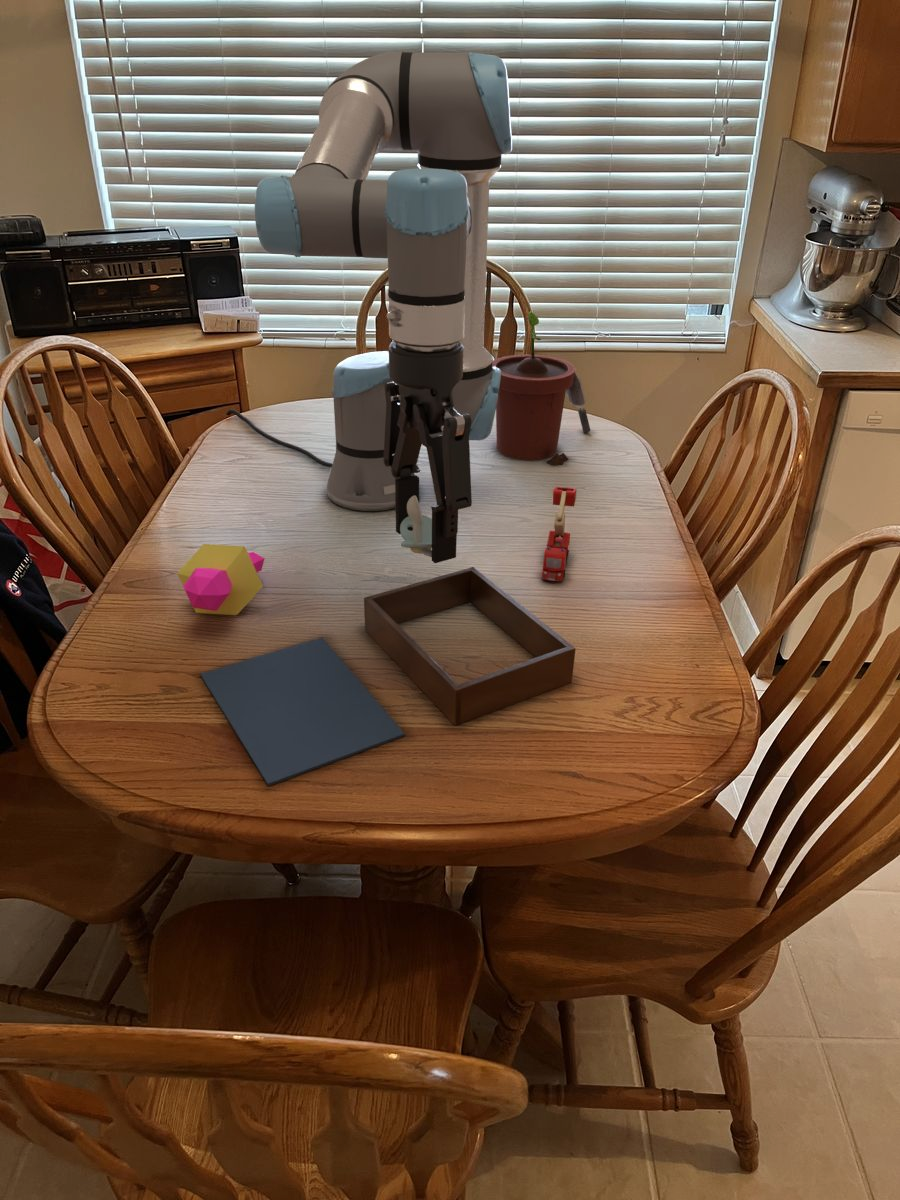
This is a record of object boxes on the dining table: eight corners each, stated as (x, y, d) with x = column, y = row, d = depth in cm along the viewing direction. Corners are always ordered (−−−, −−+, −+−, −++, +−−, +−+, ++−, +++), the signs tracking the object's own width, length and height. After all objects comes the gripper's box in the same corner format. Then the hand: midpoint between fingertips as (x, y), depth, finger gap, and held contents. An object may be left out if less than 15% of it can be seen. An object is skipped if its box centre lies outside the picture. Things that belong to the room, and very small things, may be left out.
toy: (288, 585, 128) (258, 518, 126) (252, 619, 111) (216, 542, 109) (225, 609, 130) (195, 543, 128) (180, 646, 113) (144, 571, 111)
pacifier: (450, 533, 105) (399, 532, 104) (453, 483, 102) (400, 482, 101) (455, 563, 99) (400, 562, 98) (458, 511, 95) (401, 510, 95)
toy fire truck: (540, 582, 129) (545, 521, 124) (550, 539, 140) (555, 482, 135) (563, 585, 128) (569, 524, 123) (571, 541, 140) (577, 484, 135)
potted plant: (482, 430, 180) (487, 303, 167) (589, 431, 181) (602, 304, 168) (488, 465, 165) (494, 327, 152) (605, 465, 166) (621, 328, 153)
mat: (200, 676, 108) (200, 673, 108) (322, 639, 115) (322, 637, 115) (268, 786, 92) (267, 783, 92) (404, 736, 99) (404, 733, 99)
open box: (364, 630, 117) (363, 597, 115) (471, 597, 125) (473, 566, 122) (454, 726, 101) (456, 690, 98) (572, 682, 108) (575, 648, 106)
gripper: (347, 322, 95) (354, 517, 107) (447, 374, 81) (443, 592, 93) (408, 314, 99) (409, 503, 111) (515, 362, 84) (503, 574, 96)
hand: (425, 544), depth 102 cm, fingers closed on pacifier, 7 cm apart
